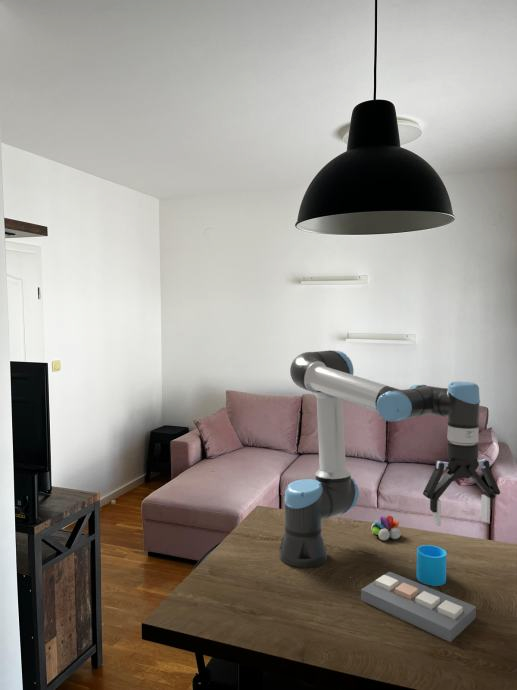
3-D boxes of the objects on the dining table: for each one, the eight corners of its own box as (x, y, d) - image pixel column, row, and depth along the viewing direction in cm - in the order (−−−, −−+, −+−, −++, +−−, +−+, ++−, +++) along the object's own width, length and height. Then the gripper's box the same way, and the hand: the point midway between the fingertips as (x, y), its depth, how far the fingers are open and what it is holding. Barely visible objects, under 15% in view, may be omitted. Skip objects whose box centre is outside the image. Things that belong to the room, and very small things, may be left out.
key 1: (375, 590, 142) (375, 580, 142) (384, 584, 145) (384, 574, 145) (389, 597, 139) (389, 586, 139) (398, 590, 142) (398, 580, 142)
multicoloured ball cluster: (404, 540, 177) (404, 519, 177) (378, 543, 175) (378, 521, 175) (392, 530, 186) (393, 510, 185) (367, 532, 184) (367, 512, 183)
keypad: (360, 600, 140) (361, 589, 140) (389, 581, 150) (389, 571, 150) (450, 642, 122) (450, 630, 122) (475, 618, 132) (476, 606, 132)
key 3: (415, 608, 134) (415, 597, 134) (423, 602, 137) (423, 590, 137) (431, 615, 131) (431, 604, 130) (439, 608, 134) (439, 597, 134)
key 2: (394, 599, 138) (394, 588, 138) (403, 593, 141) (403, 582, 141) (409, 606, 135) (409, 594, 135) (418, 599, 138) (418, 588, 138)
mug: (447, 587, 147) (448, 559, 146) (417, 583, 149) (417, 555, 148) (443, 567, 158) (444, 541, 158) (415, 564, 160) (415, 538, 160)
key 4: (437, 618, 130) (437, 606, 129) (445, 611, 133) (445, 600, 132) (454, 626, 126) (454, 614, 126) (462, 618, 129) (462, 606, 129)
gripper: (423, 447, 129) (422, 531, 131) (516, 443, 133) (513, 525, 134) (410, 440, 137) (409, 519, 138) (498, 436, 140) (496, 514, 142)
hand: (461, 522), depth 136 cm, fingers open, 13 cm apart
